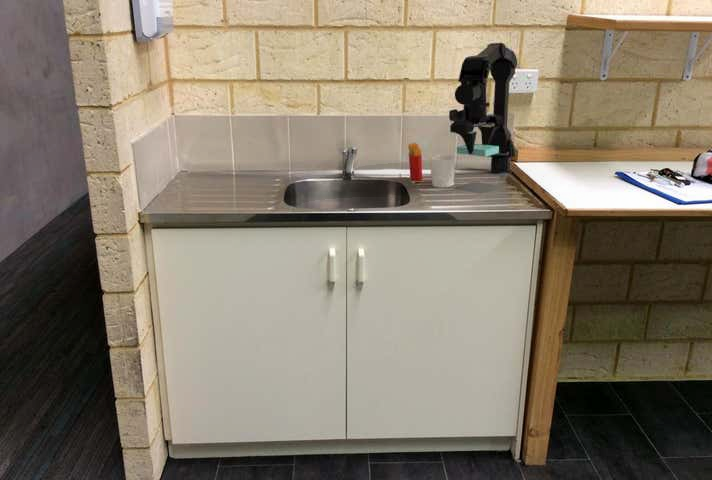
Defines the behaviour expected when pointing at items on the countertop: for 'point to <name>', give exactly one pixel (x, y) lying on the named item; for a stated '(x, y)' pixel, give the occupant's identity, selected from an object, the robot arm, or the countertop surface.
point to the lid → (479, 150)
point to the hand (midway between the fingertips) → (477, 151)
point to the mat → (478, 187)
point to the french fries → (415, 162)
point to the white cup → (442, 170)
